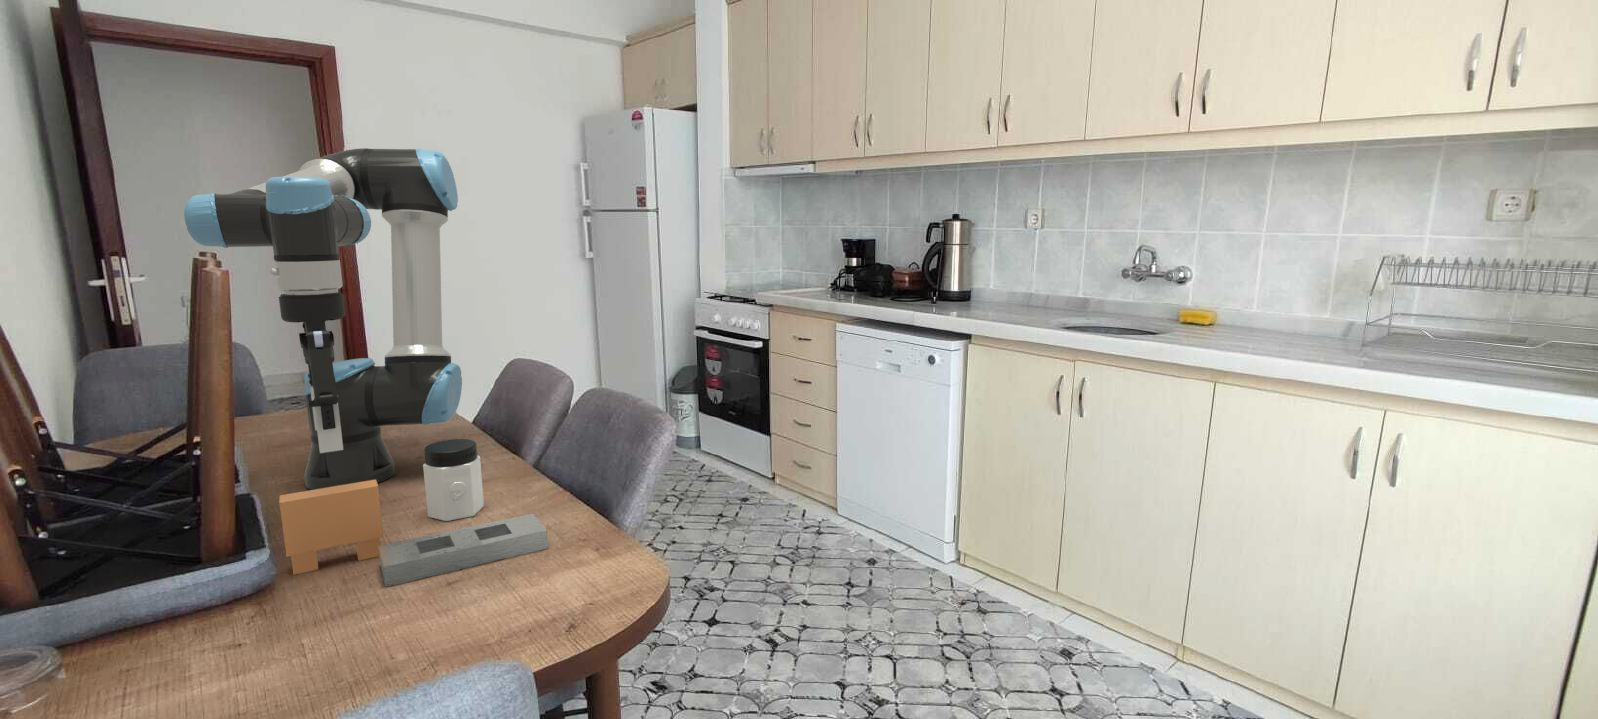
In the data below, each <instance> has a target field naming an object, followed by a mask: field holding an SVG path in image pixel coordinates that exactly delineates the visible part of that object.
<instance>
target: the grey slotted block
mask: <svg viewBox="0 0 1598 719" xmlns="http://www.w3.org/2000/svg"><path fill="white" fill-rule="evenodd" d="M548 541H549V540H548V529H547V528H546V527H545V525H543V524H542V522H541V521H540V519H538V518H537V516H536V515H535V514H534V513H530V514H524V515H520V516H514V517H511V518H510V517H509V518H505V519H499V520H495V521H491V522H490V521H489V522H486V523H482V524H481V523H480V524H477V525H472V526H467V527H462V528H457V529H453V530H448V531H444V532H439V533H434V534H430V535H424V536H421V537H420V536H419V537H415V538H410V539H406V540H401V541H395V542H392V543H386V544H385V543H384V544H380V546H378V551H379V556H378V560H379V566H380V570H381V574H382V578H383V582H384V586H385V587H386V588H388V587H392V586H396V585H400V584H404V583H408V582H412V581H414V582H415V581H417V580H421V579H426V578H429V577H433V576H437V575H442V574H447V573H451V572H455V571H459V570H464V569H467V568H472V567H475V566H481V565H485V564H489V563H494V562H498V561H501V560H505V559H509V558H514V557H518V556H522V555H527V554H530V553H535V552H539V551H543V550H549V542H548Z"/></svg>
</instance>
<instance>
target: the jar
mask: <svg viewBox="0 0 1598 719" xmlns="http://www.w3.org/2000/svg"><path fill="white" fill-rule="evenodd" d="M424 459H425V463H423V465H422V468H423V478H424V479H423V480H424V491H425V499H426V509H427V510H426V511H427V517H428V518H431V519H435V520H439V521H443V522H450V521H456V520H460V519H464V518H465V519H466V518H470V517H475V516H476V515H477V514H478V513H479V512H480V511H481V509H483V507H484V505H485V504H484V503H485V502H484V501H485V500H484V490H483V488H484V487H483V478H482V465H481V456H480V455H478V446H477V442H476V441H475V440H472V439H466V438H454V439H453V438H452V439H445V440H441V441H436V442H433V443H430V444H428V445H426V446H425V447H424Z"/></svg>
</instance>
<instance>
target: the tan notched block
mask: <svg viewBox="0 0 1598 719" xmlns="http://www.w3.org/2000/svg"><path fill="white" fill-rule="evenodd" d="M278 502H279V510H280V518H281V524H282V525H281V526H282V531H283V532H282V533H283V540H284V547H285V548H284V549H285V555H286V557H290V558H291V568H292V574H293V575H294V576H295V575H299V574H305V573H308V572H313V571H317V570H319V561H318V551H321V550H326V549H332V548H336V547H340V546H341V547H342V546H344V545H351V544H355V547H356V556H357V560H358V561H364V560H368V559H373V558H379V551H378V546H381V538H384V528H383V520H382V510H381V501H380V492H379V485H378V483H377V481H376V479H375V480H369V481H363V482H357V483H351V484H345V485H339V486H333V487H327V488H321V489H315V490H311V489H308V490H305V491H298V492H292V493H286V494H280V495H279V501H278Z"/></svg>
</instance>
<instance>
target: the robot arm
mask: <svg viewBox="0 0 1598 719" xmlns="http://www.w3.org/2000/svg"><path fill="white" fill-rule="evenodd" d="M458 196H459V195H458V190H457V184H456V180H455V176H454V173H453V169H452V167H451V164H450V163H449V161H448V158H446V156H445V155H444V154H443V153H442V152H440V151H437V150H431V149H430V150H429V149H421V148H414V149H411V148H410V149H409V148H407V149H406V148H403V149H400V148H366V147H365V148H364V147H363V148H361V147H360V148H353V149H347V150H341V151H338V152H334V153H329V154H327V155H323V156H321V157H317V158H314V159H312V160H309V161H306V162H305V163H303V165H302V166H300V168H299V169H298V171H294V172H292V173H288V174H287V175H284V176H275V177H270V178H269V179H267V180H266V182H263V183H259V184H257V185H255V186H251V187H249V188H246V189H242V190H239V191H235V192H232V193H227V194H222V193H221V194H219V193H218V194H217V193H215V192H212V193H209V194H196V195H192V197H190V198H189V199H188V201H187V202H186V203H185V206H184V211H183V212H184V213H183V218H184V223H185V225H186V230H187V232H188V234H189V236H190V237H191V238H192V240H193V241H194V242H196V243H198V244H199V245H201V246H204V247H220V248H222V247H223V248H224V249H228V248H236V247H238V248H240V247H244V248H247V247H250V248H251V247H253V248H255V247H256V248H260V247H272V250H273V260H274V265H275V266H276V267H272V268H270V269H269V274H270V275H271V276H277V278H276V282H277V283H276V284H277V289H278V290H279V291H281V292H283V294H280V295H279V297H278V303H279V311H280V316H281V317H280V318H281V320H282V321H284V322H286V323H294V324H295V323H302V328H303V331H304V332H299V333H298V336H299V344H300V347H301V349H302V354H303V357H304V362H305V364H306V365H307V366H308V371H307V372H306V373H305V375H304V378H303V381H304V393H303V394H304V397H305V404H306V412H307V417H308V418H307V419H308V426H309V434H310V443H311V444H310V446H311V447H310V449H309V450H310V451H309V455H308V459H307V463H306V466H305V471H304V473H303V474H304V484H305V488H307V489H308V490H315V489H321V488H327V487H333V486H339V485H345V484H351V483H357V482H363V481H369V480H375V479H376V481H377V484H378V483H382V482H384V481H387V480H388V479H390V478H391V477H393V476H394V475H395V474H396V467H395V461H394V458H393V457H392V455H391V452H390V450H389V449H388V447H387V445H386V442H385V441H384V438H383V437H382V431H381V426H384V427H385V426H405V425H408V426H409V425H423V426H425V425H426V426H427V425H430V424H441V423H446V422H449V421H450V420H451V419H452V418H453V417H454V416H455V414H456V412H457V410H458V408H459V404H460V401H461V398H462V397H461V396H462V389H463V388H462V387H463V376H462V368H461V367H460V366H459V365H458V364H457V363H455V362H452V354H451V353H449V352H448V351H447V350H446V349H445V348H444V346H443V320H442V318H443V316H442V315H443V313H442V275H441V274H442V269H441V266H442V264H441V233H440V232H441V227H443V226H444V225H445V224H446V223H447V222H448V220H449V214H448V213H449V212H452V211H454V210H456V209H457V208H458V202H459V198H458ZM368 210H375V211H376V210H378V211H379V210H380V211H381V217H382V219H384V220H385V221H386V222H387V223H388V224H389V226H390V234H391V235H390V241H391V247H390V248H391V288H392V296H391V297H392V334H393V335H392V338H393V347H392V349H391V350H389V351H388V352H387V353H386V354H385V355H384V365H376V362H375V361H374V359H372V358H371V357H366V358H365V357H360V358H353V359H352V358H351V359H347V360H341V361H340V360H339V361H337V362H335V350H334V346H335V336H334V333H333V331H332V330H327V327H326V322H327V321H338V320H342V319H343V318H345V316H346V308H345V297H344V294H343V293H342V292H340V291H339V289H341V288H342V287H343V286H344V285H343V284H344V283H343V276H342V267H341V260H340V255H339V247H345V248H348V247H351V246H353V245H356V244H359V243H360V242H362V241H364V240H365V239H366V238H367V237H368V236H369V234H370V232H371V228H372V218H371V215H370V213H369V211H368Z"/></svg>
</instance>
